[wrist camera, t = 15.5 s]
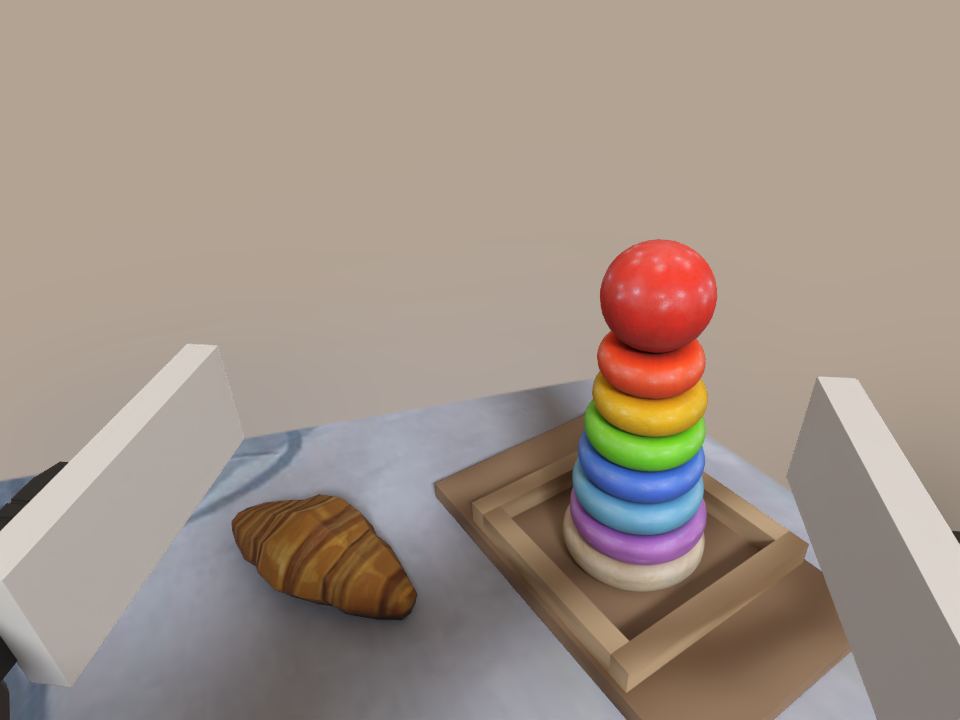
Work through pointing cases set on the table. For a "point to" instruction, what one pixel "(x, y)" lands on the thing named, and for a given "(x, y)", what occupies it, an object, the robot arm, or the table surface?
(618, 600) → the toy stand
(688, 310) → the stacking toy
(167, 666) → the table surface
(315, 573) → the croissant
